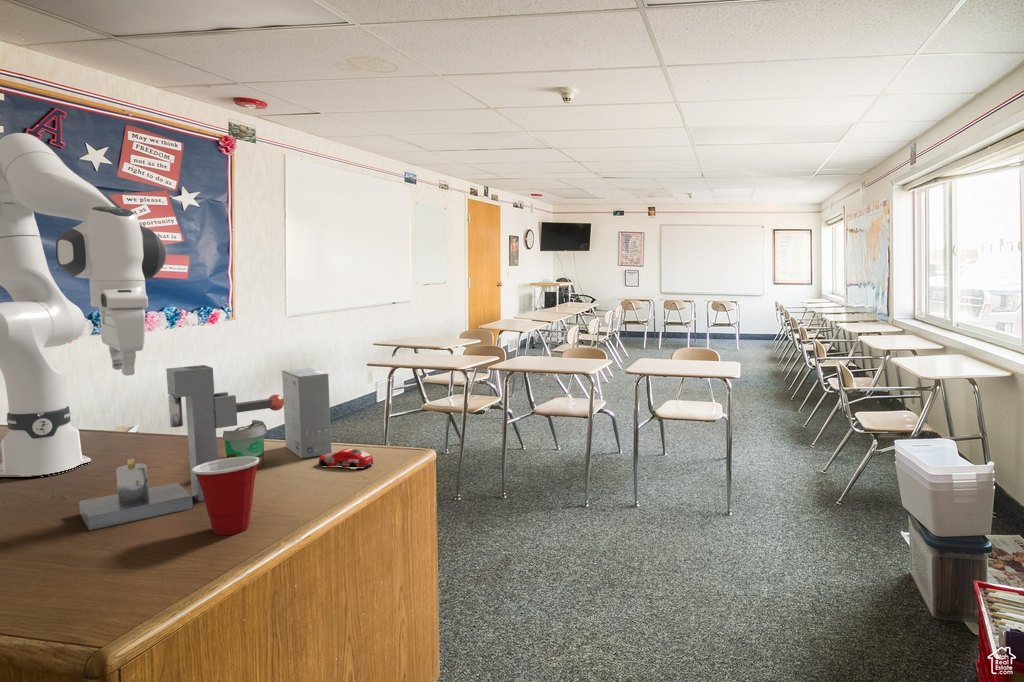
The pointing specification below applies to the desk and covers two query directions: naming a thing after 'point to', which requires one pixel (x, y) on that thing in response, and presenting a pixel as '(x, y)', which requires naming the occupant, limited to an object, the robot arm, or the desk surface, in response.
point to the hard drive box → (307, 412)
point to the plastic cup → (228, 492)
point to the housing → (132, 482)
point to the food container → (246, 442)
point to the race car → (347, 458)
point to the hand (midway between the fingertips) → (123, 372)
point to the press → (201, 424)
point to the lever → (261, 404)
